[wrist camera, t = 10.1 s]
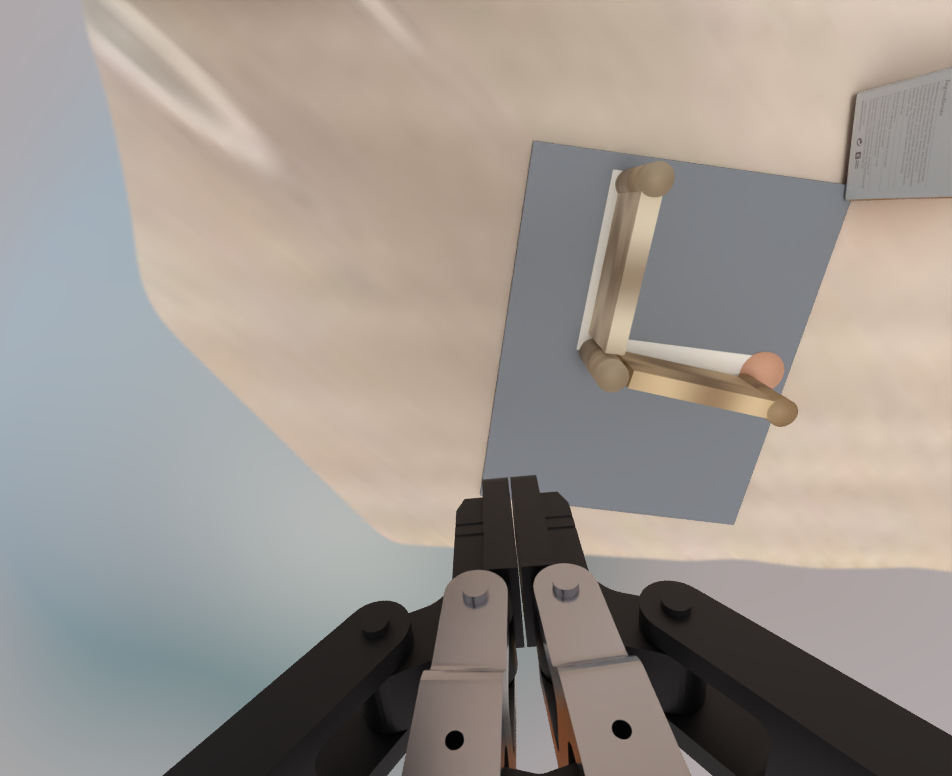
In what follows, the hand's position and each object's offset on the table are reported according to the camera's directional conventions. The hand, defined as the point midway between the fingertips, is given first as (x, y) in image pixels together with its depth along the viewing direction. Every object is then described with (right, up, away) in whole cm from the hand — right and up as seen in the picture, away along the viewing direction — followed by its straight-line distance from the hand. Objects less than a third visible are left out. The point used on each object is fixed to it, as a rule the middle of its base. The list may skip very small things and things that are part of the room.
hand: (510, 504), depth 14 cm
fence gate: (+14, +4, +22) cm, 27 cm away
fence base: (+8, +11, +20) cm, 25 cm away
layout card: (+12, +5, +23) cm, 26 cm away
